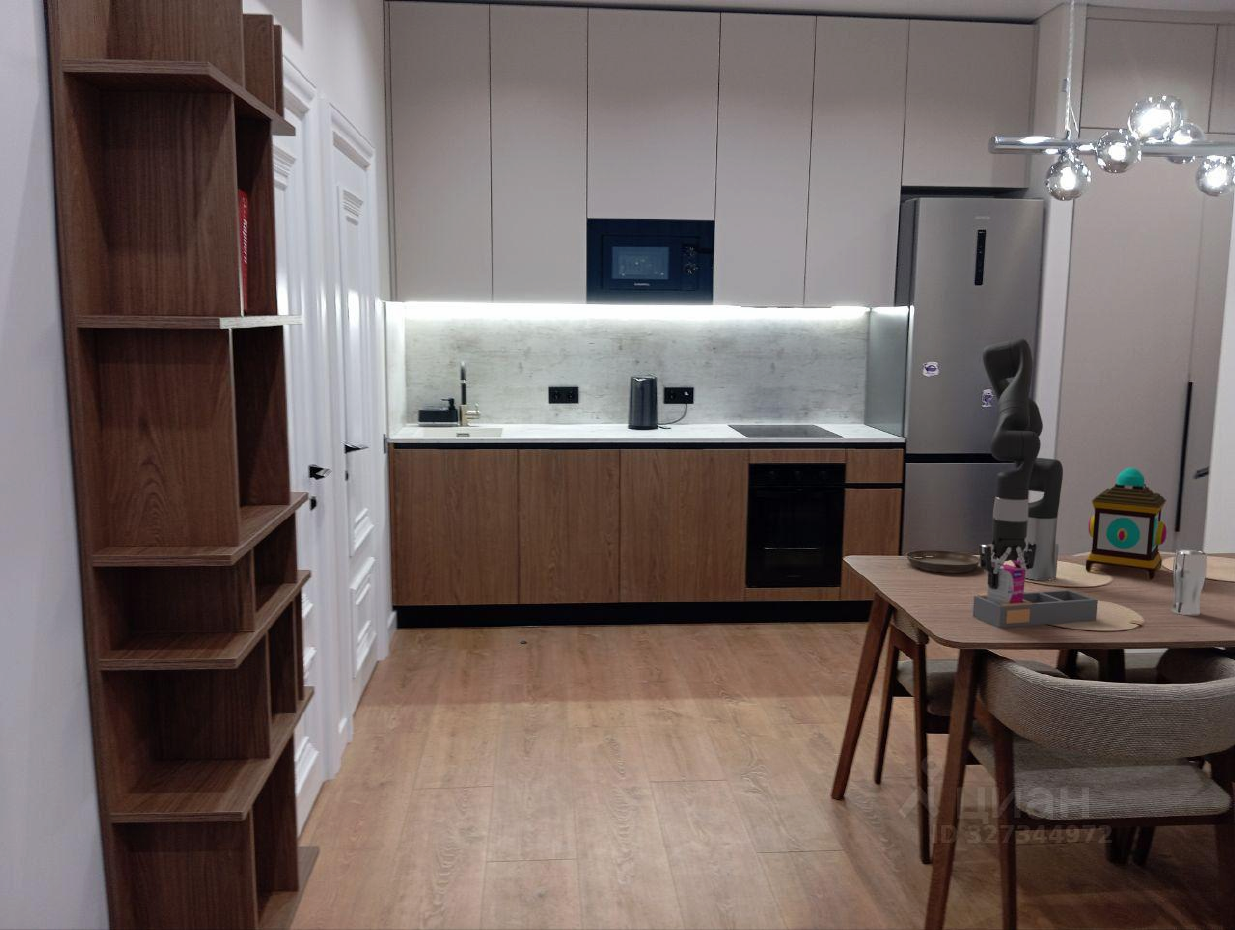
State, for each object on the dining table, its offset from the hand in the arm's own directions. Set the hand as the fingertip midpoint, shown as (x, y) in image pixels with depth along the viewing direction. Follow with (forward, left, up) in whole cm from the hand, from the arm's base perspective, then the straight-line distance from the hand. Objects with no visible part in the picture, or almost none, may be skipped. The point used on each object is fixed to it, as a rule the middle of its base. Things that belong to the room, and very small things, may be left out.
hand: (1005, 587), depth 228 cm
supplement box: (0, 0, -7) cm, 7 cm away
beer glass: (-49, +4, -8) cm, 50 cm away
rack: (-8, 0, -8) cm, 12 cm away
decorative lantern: (-68, -36, -8) cm, 77 cm away
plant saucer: (-19, -52, -8) cm, 56 cm away
